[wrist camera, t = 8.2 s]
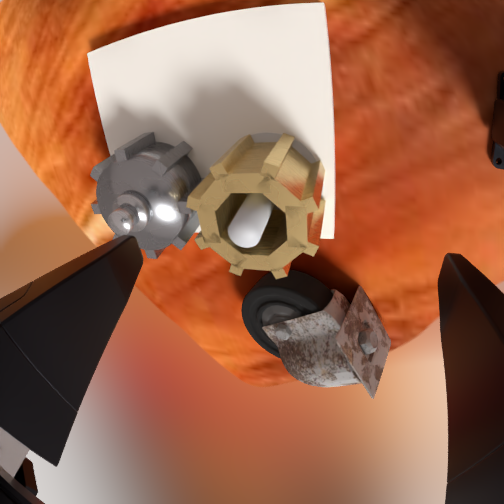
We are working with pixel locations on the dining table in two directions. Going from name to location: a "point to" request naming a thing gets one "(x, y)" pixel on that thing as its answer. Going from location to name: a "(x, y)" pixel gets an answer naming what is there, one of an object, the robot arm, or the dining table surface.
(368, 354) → the caster wheel
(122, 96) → the gear board
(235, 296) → the dining table surface
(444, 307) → the robot arm
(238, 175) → the brass gear
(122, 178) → the gear
